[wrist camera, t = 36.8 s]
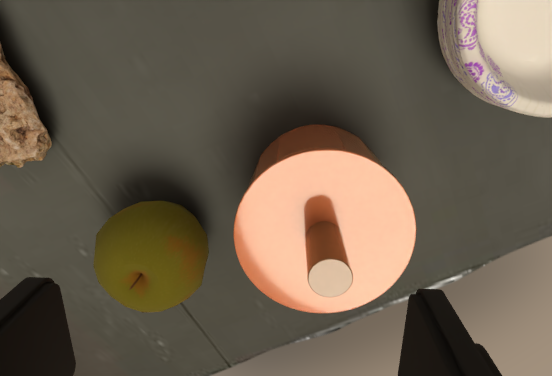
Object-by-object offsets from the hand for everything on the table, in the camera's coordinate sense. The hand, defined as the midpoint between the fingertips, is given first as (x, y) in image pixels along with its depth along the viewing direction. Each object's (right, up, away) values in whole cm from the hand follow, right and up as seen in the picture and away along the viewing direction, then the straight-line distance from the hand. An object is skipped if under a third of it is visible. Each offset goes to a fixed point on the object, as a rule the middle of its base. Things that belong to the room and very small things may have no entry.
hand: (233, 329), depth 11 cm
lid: (+5, 0, +20) cm, 20 cm away
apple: (-10, -1, +31) cm, 32 cm away
